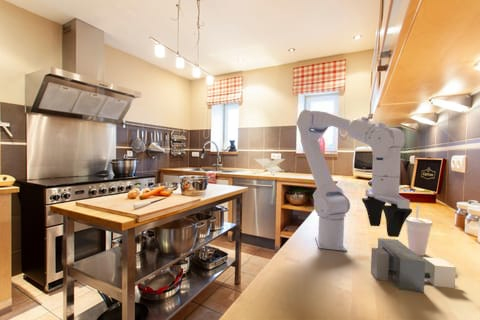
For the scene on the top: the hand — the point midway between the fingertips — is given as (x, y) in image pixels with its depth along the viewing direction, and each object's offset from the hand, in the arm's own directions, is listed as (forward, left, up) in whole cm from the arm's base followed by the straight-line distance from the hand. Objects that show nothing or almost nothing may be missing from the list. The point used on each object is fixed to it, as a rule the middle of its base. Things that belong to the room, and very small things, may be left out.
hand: (383, 230), depth 55 cm
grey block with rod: (+4, +5, -9) cm, 11 cm away
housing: (+3, +2, -9) cm, 10 cm away
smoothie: (-13, +14, -10) cm, 21 cm away
